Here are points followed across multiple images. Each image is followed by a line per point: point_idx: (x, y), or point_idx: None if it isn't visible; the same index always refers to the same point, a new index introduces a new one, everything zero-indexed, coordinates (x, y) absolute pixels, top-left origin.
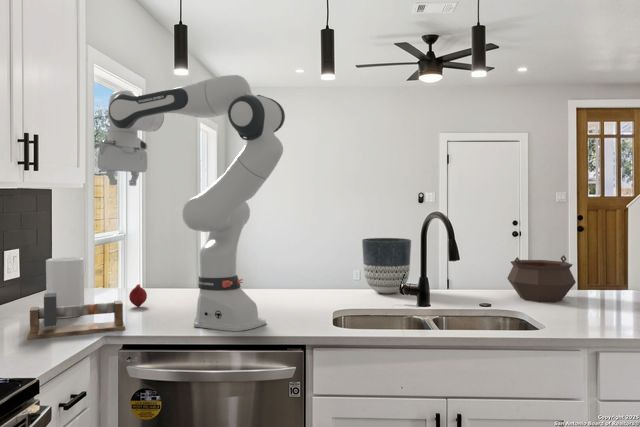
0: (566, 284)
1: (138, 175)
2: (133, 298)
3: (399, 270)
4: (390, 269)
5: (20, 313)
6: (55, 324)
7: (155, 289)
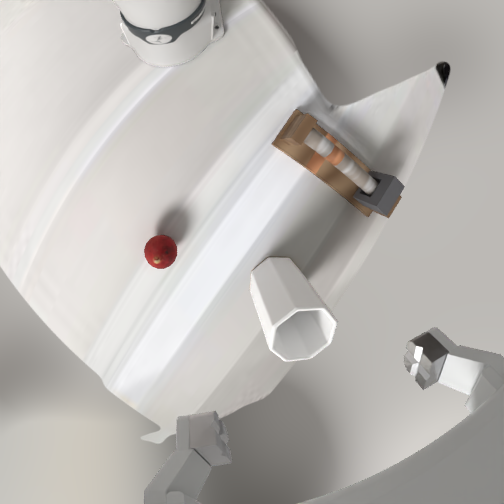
0: None
1: (150, 490)
2: (175, 245)
3: None
4: None
5: None
6: (371, 171)
7: (71, 344)
